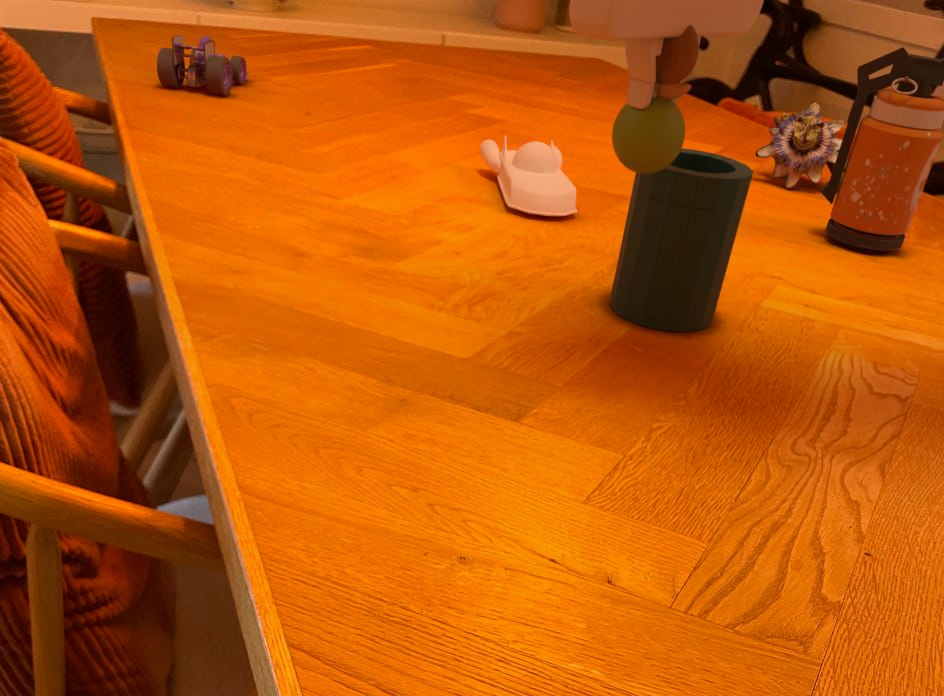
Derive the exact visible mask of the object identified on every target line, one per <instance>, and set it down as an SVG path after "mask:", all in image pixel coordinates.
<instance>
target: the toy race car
mask: <svg viewBox="0 0 944 696" xmlns="http://www.w3.org/2000/svg"><path fill="white" fill-rule="evenodd" d="M215 44H216V43H215V41H214V40H213V39H211V37H210V36H208V35H206V36H203V37H201V38H200V39H199V42H198V46H191V45H188V44H185V40H184V36H183V34H179V35H177V36H173V37H171V46H172V47H171V48H170V47H165V46H164V47H161V48H160V50H159V51H158V54H157V59H156V73H157V77H158V81H159V83H160V84H161V85H162V86H163V87H168V88H174V89H175V88H176V89H180V88H182V86H183V84H184V82H185V80H187V87H189V88H194V89H198V88H200V87H201V88H206V89H207V90H208V92H209V93H210V94H211V95H216V96H217V95H218V96H223V97H227V96H229V95H230V93H231V90H232V87H233V85H234V84H235V85H240V86H243V85H244V84H245V82H246V81H248V80H249V72H247V71H248V70H247V67H248V66H247V61H246V59H245V57H244V56H239V55H232V56H231V57H230V59H229V57H227V56H226V55H225V54H223V53H216V45H215ZM185 50H191V52H190V54H189V53H185ZM185 58H189V65H188V66H187V68H186V63H185Z"/></svg>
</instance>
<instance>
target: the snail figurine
mask: <svg viewBox="0 0 944 696" xmlns="http://www.w3.org/2000/svg"><path fill="white" fill-rule="evenodd" d="M625 42H626V44H627V41H625ZM699 53H700V44H699V41H698V36H697V33H696V31H695V29H694V27H693V26H692V25H689V26H688V27H687V28H686V29H685V31H684V33H683V35H682V36H680V37H671V38H664V41H663V45H662V50H661V54H660V55H659V56H656V81H660V82H661V86H660V91H659V93H658V95H657V96H658V99H657V100H656V101H654V102H653V103H652V105H650V106H648V107H647V108H645V109H639V108H635V107H632V106H629V105H628V103H627V102H626V103H625V104H624V105H623V106H622V107H621V109H620V110H619V112H618V114H617V115H616V117H615V120H614V122H613V125H612V130H611V132H612V133H611V142H612V143H611V144H612V148H613V152H614V154H615V155H616V158H617V159H618V161H619V162H620V163H621V164H622V166H623V167H625V168H626V169H628V170H629V171H631V172H634V173H635V174H636V173H640V174H651V173H655V172H658V171H661V170H663V169H664V168H666V167H667V166H669V165H670V164H671V163H672V162H673V161H674V160H675V158H676V157H677V156H678V154H679V152H680V150H681V148H683V145H684V143H685V138H686V122H685V119H684V115H683V113H682V110H681V109H680V108H679V106H678V105H677V103H674V102H673V101H672V100H675V99H678V100H679V98H681V97H684V95H685V94H688V92H689V91H690V90H691V89H692V85H691V84H690V83H687V82H685V83H684V82H683V80H685V79H686V78H687V77H689V75H691V73H692V72H693V70H694V68H695V67H696V65H697V62H698V59H699V55H700V54H699ZM681 81H682V83H680V82H681Z"/></svg>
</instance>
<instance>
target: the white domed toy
mask: <svg viewBox="0 0 944 696" xmlns="http://www.w3.org/2000/svg"><path fill="white" fill-rule="evenodd" d="M507 144H508V143H507V135H504V138H503V143H502V149H501V150H500V148H499V146H498V145H497V143H496V141H494V140H493V139H485V140H483V141H482V142H481V143H480V146H479V154H480V156H481V158H482V159H483V161H484V162H485V164H486V165H487V167H488V168H490V169H491V170H492V171H493V172H495V175H496V177H497V182H498V185H499V187H500V190H501V193H502V196H503V199H504V202H505V204H506V205H507V207H508V208H511V209H514V210H517V211H520V212H524V213H526V214H531V215H539V216H545V217H566V216H570V215H573V214H577V213H578V210H577V187H576V186H575V184H573V182H571V180H570V179H569V177H568V176H567V175H566V174H565V172H563V171H562V167H563V154H562V152H561V150H560V149H559V148H558V147H557V146H555V145H554V140H550V145H548V144H547V143H545V142H543V141H542V142H541V141H535V140H534V141H528V142H527V143H525V144H522V145H521V146H520V147H519V148H518V149H517V150H514V149H508V147H507V146H508V145H507Z"/></svg>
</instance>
